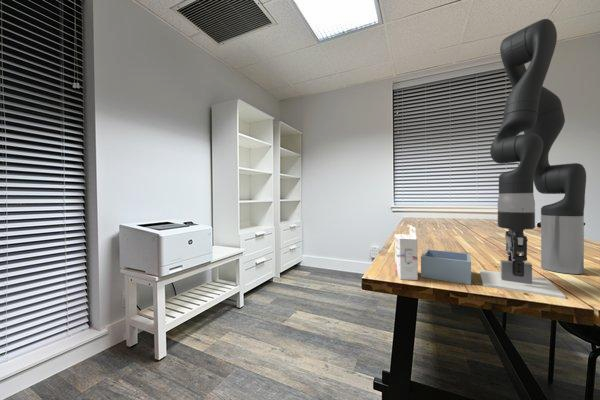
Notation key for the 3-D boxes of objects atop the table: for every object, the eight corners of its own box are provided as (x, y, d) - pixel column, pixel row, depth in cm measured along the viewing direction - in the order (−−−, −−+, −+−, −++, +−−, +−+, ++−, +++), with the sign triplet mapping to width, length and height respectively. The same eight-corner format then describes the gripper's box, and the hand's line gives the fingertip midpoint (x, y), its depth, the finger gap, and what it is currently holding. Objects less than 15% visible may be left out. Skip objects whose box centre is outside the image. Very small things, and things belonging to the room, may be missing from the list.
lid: (479, 273, 76) (479, 253, 76) (546, 282, 68) (546, 260, 68) (482, 288, 64) (482, 264, 64) (565, 301, 55) (565, 274, 55)
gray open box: (426, 267, 81) (426, 249, 81) (470, 273, 75) (470, 253, 75) (420, 276, 71) (420, 256, 71) (471, 284, 65) (470, 262, 65)
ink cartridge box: (394, 271, 77) (393, 224, 77) (410, 271, 76) (410, 224, 76) (399, 279, 69) (399, 227, 69) (418, 280, 68) (418, 227, 68)
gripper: (542, 212, 58) (542, 282, 58) (528, 209, 70) (528, 268, 70) (500, 211, 62) (501, 277, 62) (494, 209, 74) (495, 264, 74)
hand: (515, 272), depth 66 cm, fingers open, 6 cm apart
